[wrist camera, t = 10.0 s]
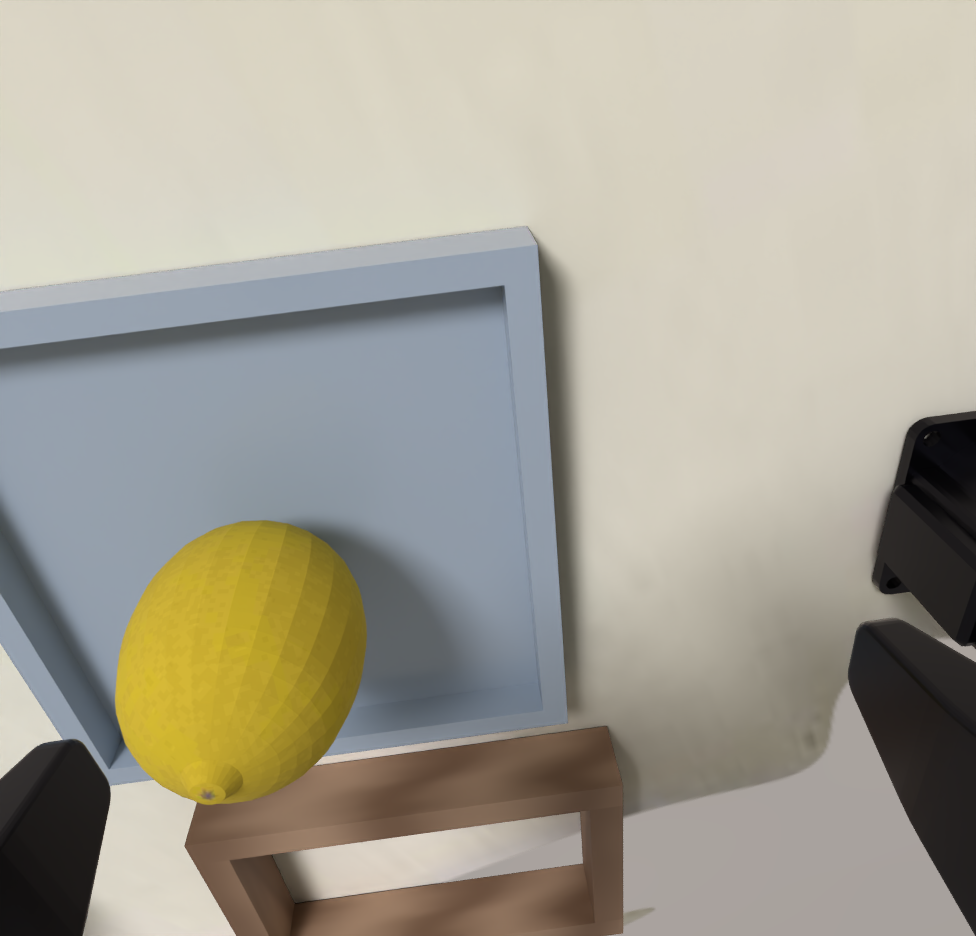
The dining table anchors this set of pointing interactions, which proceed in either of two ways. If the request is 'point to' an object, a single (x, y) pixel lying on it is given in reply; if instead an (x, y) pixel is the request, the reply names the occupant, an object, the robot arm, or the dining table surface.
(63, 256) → the dining table surface
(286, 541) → the lemon
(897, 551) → the robot arm
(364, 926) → the holder
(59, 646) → the tray
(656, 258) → the dining table surface
